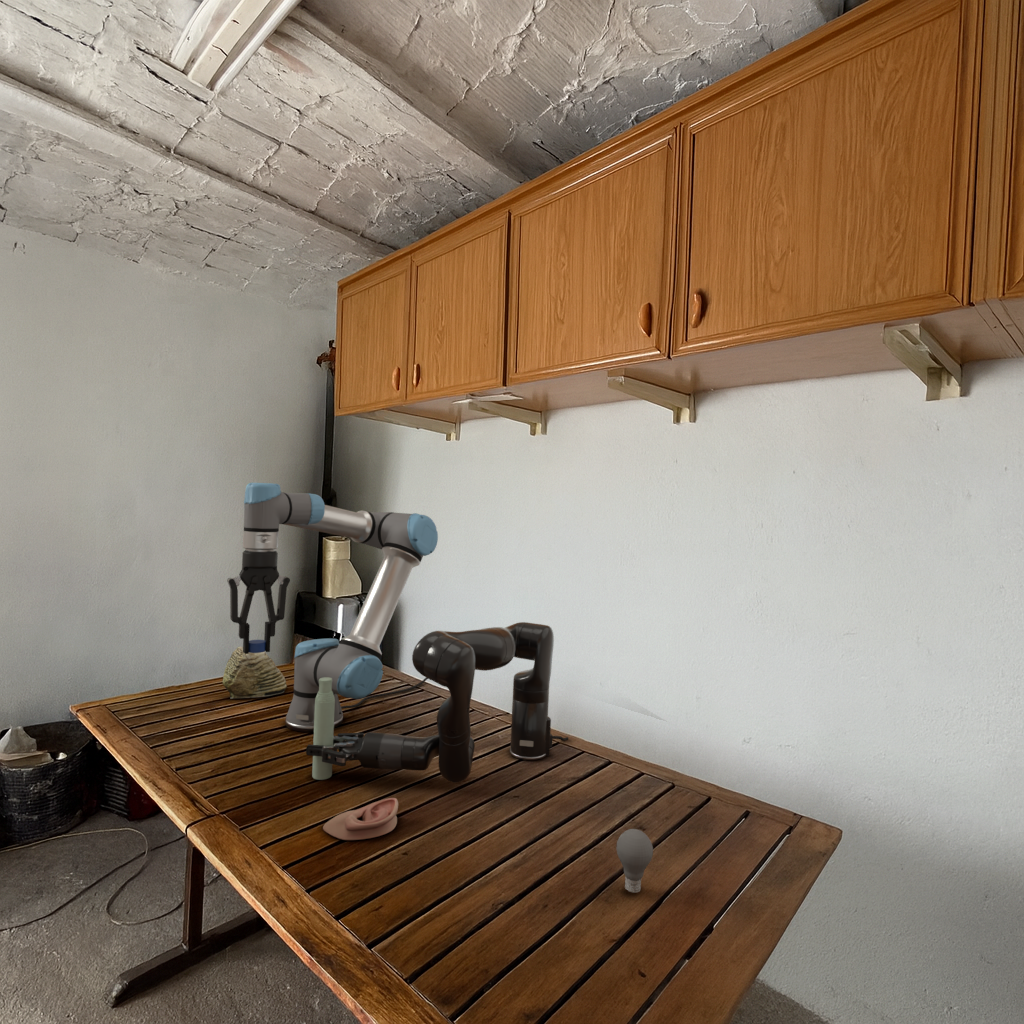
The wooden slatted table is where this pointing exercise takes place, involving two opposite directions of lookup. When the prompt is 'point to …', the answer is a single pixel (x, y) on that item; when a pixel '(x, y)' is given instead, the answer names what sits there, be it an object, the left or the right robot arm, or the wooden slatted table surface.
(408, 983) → the wooden slatted table surface
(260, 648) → the cap
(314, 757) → the bottle
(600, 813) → the wooden slatted table surface
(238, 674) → the fossil
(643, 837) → the light bulb
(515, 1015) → the wooden slatted table surface
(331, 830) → the anatomical model
